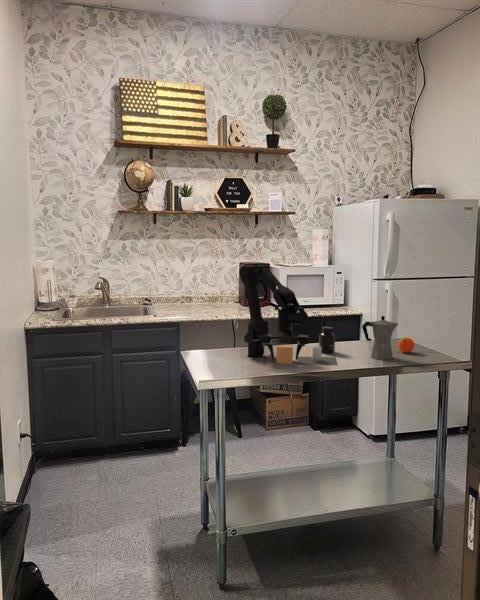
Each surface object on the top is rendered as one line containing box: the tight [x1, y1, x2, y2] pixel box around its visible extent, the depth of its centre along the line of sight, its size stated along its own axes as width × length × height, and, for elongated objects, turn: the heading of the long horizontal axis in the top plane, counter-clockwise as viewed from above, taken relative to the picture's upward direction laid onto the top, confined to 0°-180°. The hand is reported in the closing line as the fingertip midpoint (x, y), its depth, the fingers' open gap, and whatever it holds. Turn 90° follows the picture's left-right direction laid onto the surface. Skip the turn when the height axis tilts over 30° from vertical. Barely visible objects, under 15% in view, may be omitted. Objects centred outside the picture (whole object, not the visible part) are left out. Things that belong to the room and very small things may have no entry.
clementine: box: [397, 336, 415, 354], centre depth 229 cm, size 8×7×7 cm
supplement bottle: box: [318, 326, 336, 355], centre depth 226 cm, size 7×7×12 cm
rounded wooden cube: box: [276, 344, 294, 365], centre depth 208 cm, size 6×6×7 cm
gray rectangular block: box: [312, 345, 322, 362], centre depth 210 cm, size 3×3×6 cm
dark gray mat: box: [296, 355, 339, 366], centre depth 210 cm, size 16×14×1 cm
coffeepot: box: [361, 315, 399, 361], centre depth 219 cm, size 15×9×18 cm, turn 93°
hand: (284, 360), depth 208 cm, fingers open, 9 cm apart
